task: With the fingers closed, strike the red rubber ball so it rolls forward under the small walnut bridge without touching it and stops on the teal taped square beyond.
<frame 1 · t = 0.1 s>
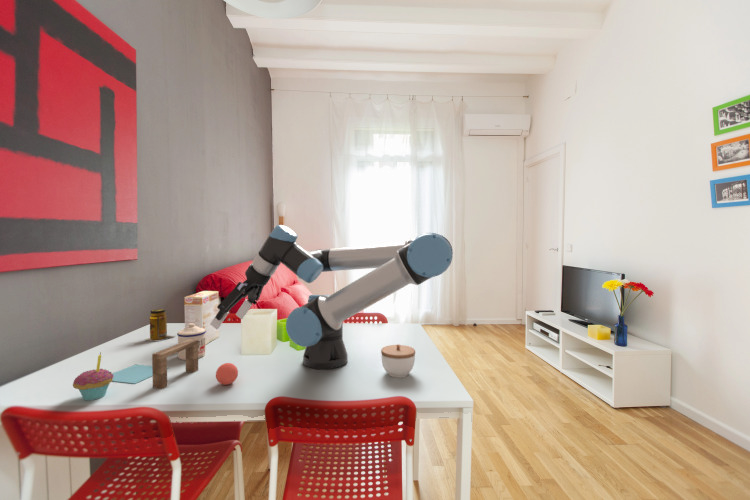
hand: (227, 321, 121), 15 cm above the table, tool tilted 35°, fingers open, 13 cm apart
bridge: (176, 378, 112), on the table
cupcake: (93, 397, 99), on the table
coffeecake box: (202, 342, 150), on the table
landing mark: (135, 373, 115), on the table
ball: (226, 373, 108), on the table
lidded jar: (397, 374, 117), on the table
teacup with lid: (194, 355, 134), on the table
condiment: (160, 338, 155), on the table
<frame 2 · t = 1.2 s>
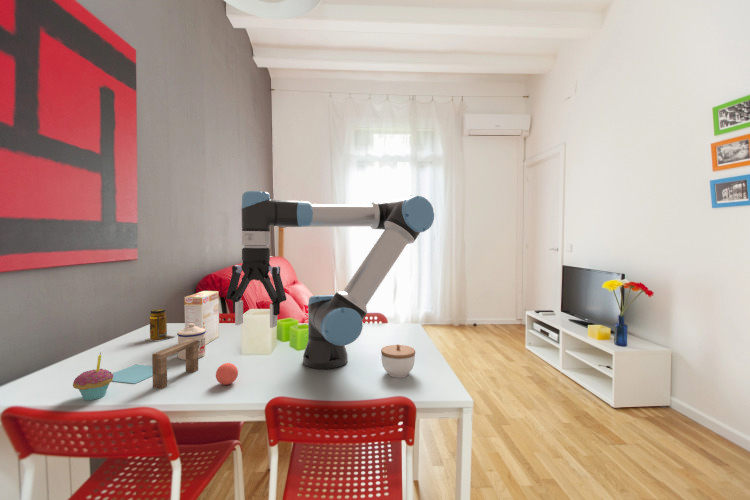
hand: (256, 325, 106), 18 cm above the table, tool pointing down, fingers open, 10 cm apart
nothing on the table moved.
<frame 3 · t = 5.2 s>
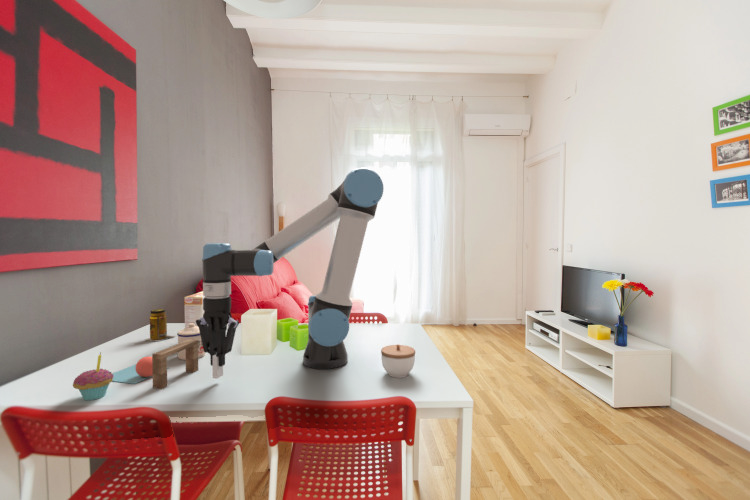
hand: (217, 376, 109), 2 cm above the table, tool pointing down, fingers closed
ball: (147, 366, 113), on the table
everything else where it was.
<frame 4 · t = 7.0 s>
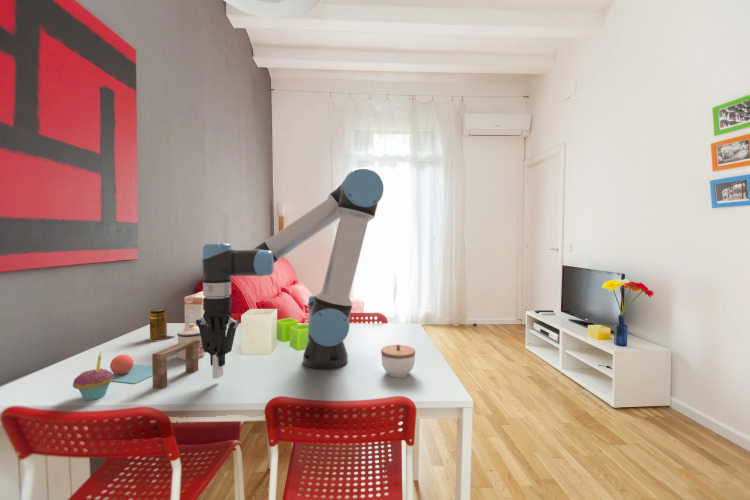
hand: (217, 376, 109), 2 cm above the table, tool pointing down, fingers closed
ball: (122, 364, 115), on the table
everything else where it was.
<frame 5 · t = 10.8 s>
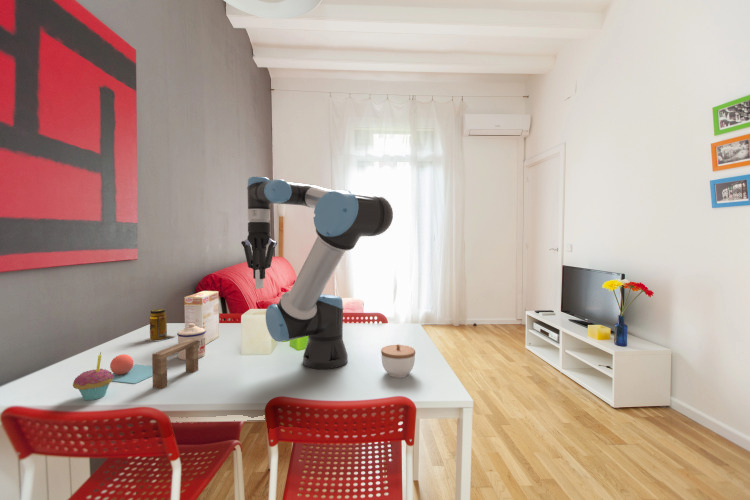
hand: (259, 288, 133), 24 cm above the table, tool pointing down, fingers closed
nothing on the table moved.
at the end: ball 3.9 cm from the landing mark (horizontally); ball never touched bridge; ball at rest at the end (0.0 cm/s) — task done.
